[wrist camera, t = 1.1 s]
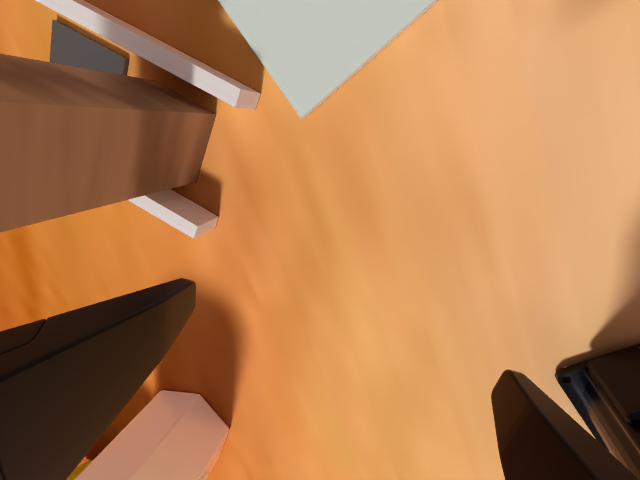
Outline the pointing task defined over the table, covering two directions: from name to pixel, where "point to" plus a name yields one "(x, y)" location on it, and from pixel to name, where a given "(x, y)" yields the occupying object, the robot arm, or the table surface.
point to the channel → (94, 56)
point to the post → (90, 139)
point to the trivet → (319, 40)
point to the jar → (164, 442)
